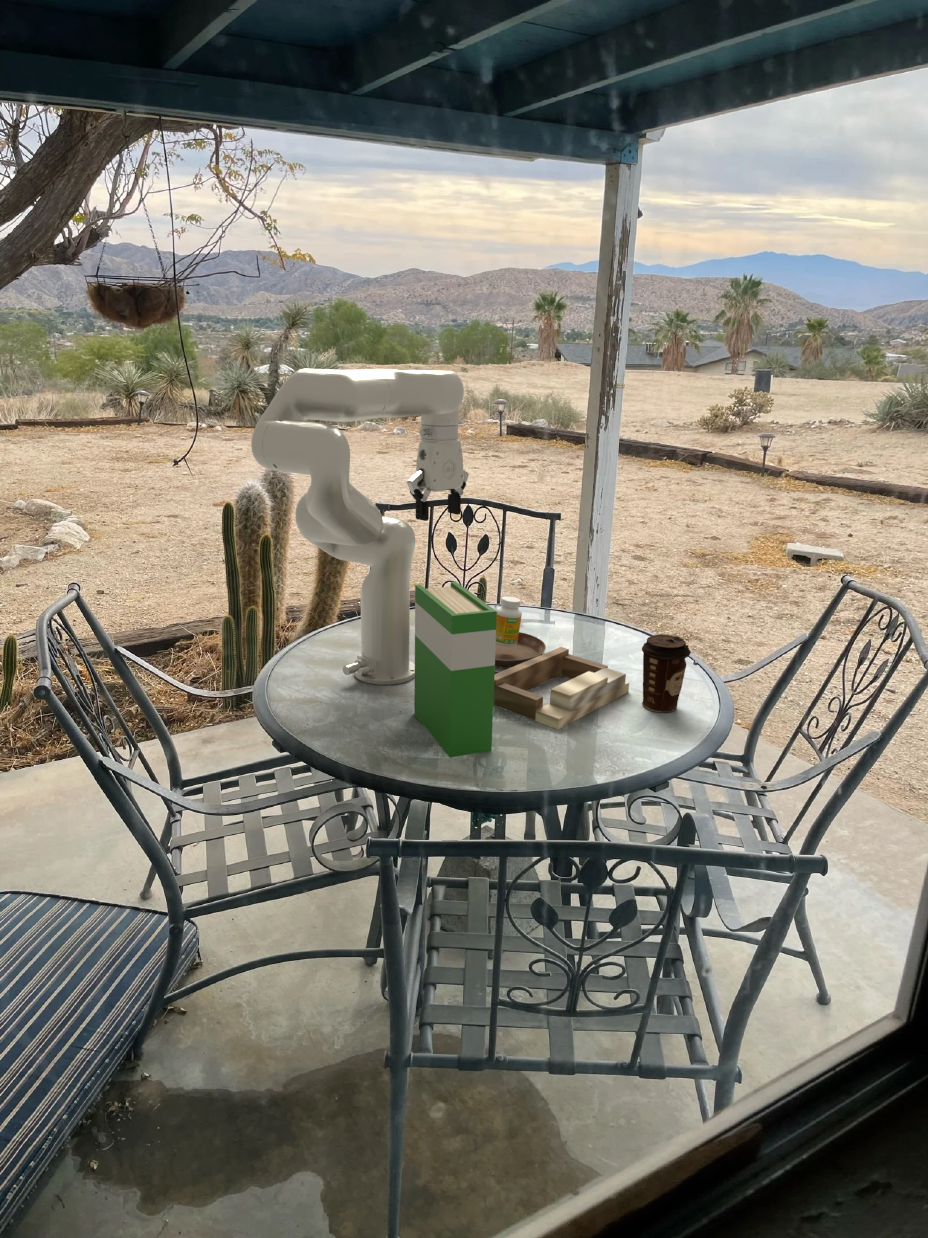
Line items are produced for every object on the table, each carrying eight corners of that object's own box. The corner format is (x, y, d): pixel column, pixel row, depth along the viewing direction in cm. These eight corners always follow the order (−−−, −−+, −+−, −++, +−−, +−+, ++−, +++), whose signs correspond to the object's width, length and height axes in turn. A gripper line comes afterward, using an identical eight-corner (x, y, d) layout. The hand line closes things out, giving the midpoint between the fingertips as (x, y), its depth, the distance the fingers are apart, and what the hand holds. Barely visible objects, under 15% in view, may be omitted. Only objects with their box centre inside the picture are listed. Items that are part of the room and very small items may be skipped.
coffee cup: (686, 701, 160) (693, 636, 156) (682, 718, 153) (689, 651, 148) (639, 694, 163) (645, 630, 159) (633, 711, 155) (639, 644, 151)
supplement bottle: (502, 648, 177) (509, 603, 174) (486, 639, 181) (493, 596, 178) (522, 645, 180) (529, 601, 177) (506, 637, 184) (512, 594, 181)
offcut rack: (558, 729, 147) (560, 702, 145) (486, 702, 157) (487, 676, 156) (628, 692, 163) (630, 667, 162) (559, 669, 174) (560, 645, 172)
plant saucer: (548, 673, 173) (548, 659, 172) (461, 671, 173) (461, 657, 172) (542, 644, 190) (542, 631, 189) (462, 641, 190) (463, 629, 189)
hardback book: (414, 713, 152) (415, 584, 144) (452, 708, 155) (455, 581, 147) (449, 757, 136) (452, 615, 129) (491, 750, 139) (496, 611, 132)
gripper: (422, 438, 164) (422, 525, 169) (481, 432, 176) (478, 513, 182) (395, 434, 169) (396, 519, 174) (454, 429, 181) (452, 508, 187)
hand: (438, 516), depth 178 cm, fingers open, 9 cm apart
